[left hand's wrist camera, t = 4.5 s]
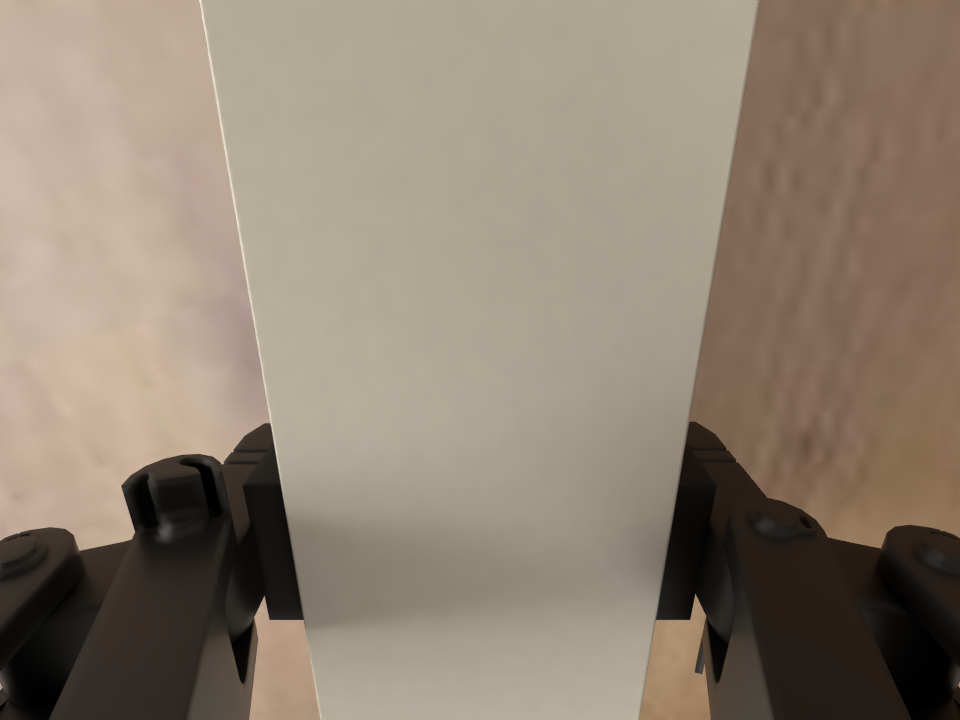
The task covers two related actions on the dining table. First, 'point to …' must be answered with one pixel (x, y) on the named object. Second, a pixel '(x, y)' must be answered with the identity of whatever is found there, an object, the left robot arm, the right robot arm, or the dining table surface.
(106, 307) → the dining table surface
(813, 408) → the dining table surface
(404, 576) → the bar
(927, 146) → the dining table surface
